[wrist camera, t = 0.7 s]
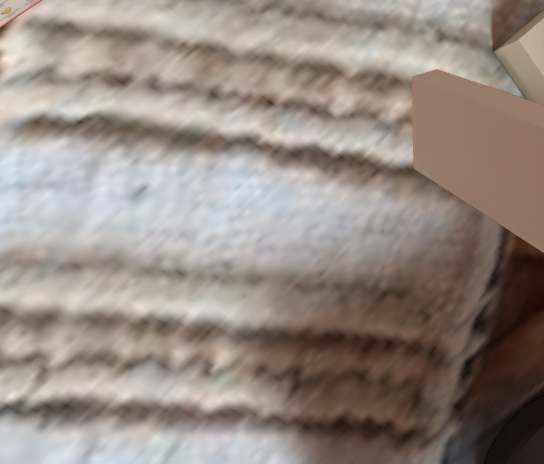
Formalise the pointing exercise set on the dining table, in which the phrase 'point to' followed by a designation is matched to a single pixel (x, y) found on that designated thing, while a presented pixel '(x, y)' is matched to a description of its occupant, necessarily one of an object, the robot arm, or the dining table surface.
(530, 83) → the tray
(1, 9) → the cracker box
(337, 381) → the dining table surface
